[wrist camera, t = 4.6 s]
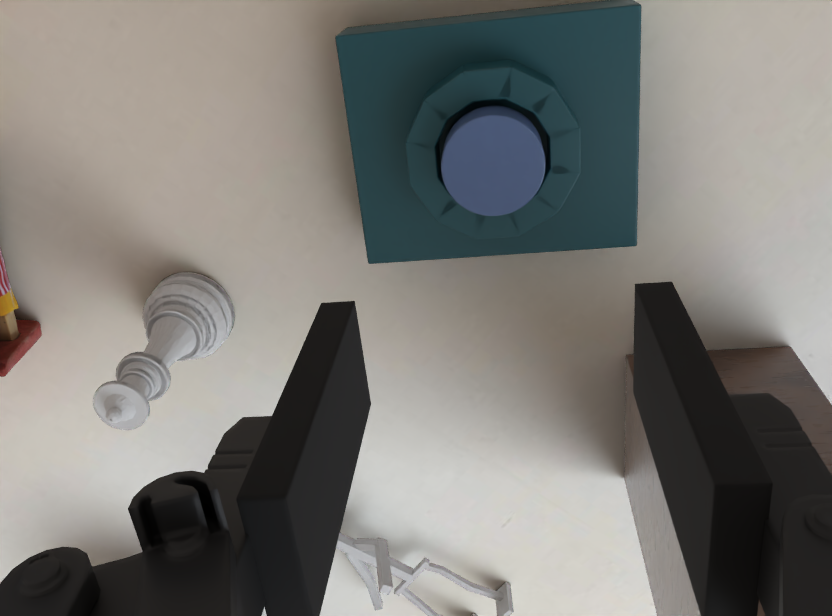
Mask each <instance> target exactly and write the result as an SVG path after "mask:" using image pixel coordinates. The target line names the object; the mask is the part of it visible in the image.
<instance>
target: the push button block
mask: <svg viewBox="0 0 832 616" xmlns="http://www.w3.org/2000/svg"><path fill="white" fill-rule="evenodd" d="M335 39H336V46H337V53H338V60H339V66H340V73H341V80H342V87H343V94H344V101H345V107H346V114H347V121H348V128H349V135H350V142H351V149H352V155H353V162H354V169H355V176H356V183H357V190H358V196H359V203H360V210H361V217H362V224H363V231H364V237H365V244H366V251H367V258H368V263H369V264H374V263H389V262H404V261H419V260H434V259H449V258H464V257H479V256H494V255H509V254H524V253H539V252H554V251H569V250H584V249H599V248H614V247H629V246H636V245H637V212H638V159H639V106H640V53H641V4H639V3H637V2H635V1H634V0H605V1H595V2H586V3H576V4H567V5H557V6H548V7H538V8H529V9H519V10H510V11H500V12H491V13H481V14H472V15H462V16H453V17H443V18H433V19H424V20H414V21H405V22H395V23H386V24H376V25H367V26H357V27H348V28H346V29H345V30H343V31H342V32H341V33H339V34H338V35H337V36H336V37H335ZM489 105H498V106H505V107H509V108H512V109H514V110H516V111H518V112H520V113H522V114H523V115H524V116H526V117H527V118H528V119H529V120H530V121H531V122H532V123H533V125H534V126H535V128H536V129H537V131H538V133H539V135H540V138H541V142H542V146H543V150H544V154H545V162H546V164H545V174H544V178H543V181H542V184H541V186H540V188H539V190H538V191H537V193H536V194H535V196H534V197H533V198H532V199H531V200H530V201H529V202H528V203H527V204H526V205H524V206H523V207H521V208H520V209H518V210H516V211H514V212H511V213H508V214H505V215H499V216H486V215H480V214H476V213H474V212H471V211H469V210H467V209H465V208H464V207H462V206H461V205H459V204H458V203H457V202H456V201H455V200H454V199H453V198H452V196H451V195H450V194H449V192H448V190H447V189H446V186H445V184H444V181H443V178H442V172H441V160H442V154H443V149H444V144H445V140H446V138H447V135H448V133H449V131H450V130H451V128H452V127H453V125H454V124H455V123H456V122H457V121H458V120H459V119H460V118H461V117H462V116H463V115H465V114H466V113H468V112H470V111H472V110H474V109H476V108H479V107H483V106H489Z"/></svg>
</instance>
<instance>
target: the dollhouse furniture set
mask: <svg viewBox="0 0 832 616" xmlns="http://www.w3.org/2000/svg"><path fill="white" fill-rule="evenodd" d="M14 309H18V304H17V301H16V299H15V297H14V295H13V292H12V289H11V286H10V283H9V280H8V276H7V272H6V268H5V263H4V259H3V256H2V253H1V248H0V376H1V377H4V376H6V374H7V373H8V372H9V371H10V370H11V369H12V368H13V366H14V365H15V364H16V363H17V362H18V361H19V360H20V359H21V358H22V357H23V356H24V355H25V353H26V352H27V351H28V350H29V349H30V348H31V347H32V346H33V345H34V344H35V343H36V342H37V340H38V339H39V338H40V337H41V335H42V333H41V326H40V323H39V322H37V321H34V320H16V318H15V314H14V311H13V310H14Z"/></svg>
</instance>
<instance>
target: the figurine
mask: <svg viewBox="0 0 832 616" xmlns="http://www.w3.org/2000/svg"><path fill="white" fill-rule="evenodd" d="M336 548H337V549H339V550H341V551H343V552H345V553H346V556H347V558H348V559H349V561H350V562H351V563H352V565H353V566H354V568H355V569H356V570H357V572H358V573H359V575H360V576H361V577H362V579H363V580H364V582H365V583H366V585H367V588H368V591H369V594H370V597H371V600H372V603H373V606H374V609H375V610H379V609H382V608H383V602H382V599H381V596H380V593H383V594H387V595H389V594H390V592H391V590H392V588H393V585H392V577H391V574H392V575H394V576H396V577H398V578H401V579H403V581H402V582H401V583H400V584H399V585H398V586H397V587H396V588H395V589H394V594H396V595H398V596H399V595H400V594H402V595H403V596H405V597H406V598H407V599H408V600H410V601H411V602H412V603H413V604H414V605H416V606H417V607H418V608H419V609H420V610H421V611H423V612H424V613H425V614H426V615H427V616H442V615H439V614H437V613H436V612H435V611H434V610H433V609H431V608H430V607H429V606H428V605H427V604H425V603H424V602H423V601H422V600H421V599H420V598H418V597H417V596H416V595H415V594H414V593H412V592H411V591H410V590H409V589H407V587H408V586H409V585H410V584H411V583H412V582H413V581H414V580H415V579H416V577H417V576H418V575H419V574H420V573H421V572H422V571H423V570H424V569H426V570H429V571H433V572H436V573H440V574H441V575H443V576H445V577H446V578H448V579H450V580H451V581H453V582H455V583H456V584H458V585H460V586H462V587H463V588H465V589H467V590H468V591H471V592H474V593H477V594H480V595H483V596H486V597H489V598H492V599H495V600H496V608H497V616H510V615H511V614H512V613H513V612H514V611H513V603H512V594H511V585H510V584H509V583H507V582H505V583H504V584H503V585H502V586H501V587H500V588H499V589H498V590H497V591H495V590H492V589H489V588H486V587H483V586H480V585H477V584H474V583H471V582H470V581H468V580H466V579H464V578H462V577H461V576H459V575H457V574H455V573H454V572H452V571H450V570H448V569H447V568H445V567H443V566H440V565H436V564H433V563H429V559H427V558H424V559H423V560H422V561H421V562H420V563H419V564H418V565H417V566H416V567H415V568H414V569H413V568H411V567H409V566H407V565H405V564H403V563H401V562H399V561H397V560H395V559H393V558H391V557H389V552H388V544H387V540H385V539H381V538H378V539H367V538H357V539H356V540H355V539H353V538H350V537H348V536H346V535H344V534H342V533H339V537H338V541H337V545H336ZM365 563H367V564H370V565H372V566H374V567H376V568H377V573H378V583H379V590H378V587H377V584H376V581H375V578H374V576H373V574H372V573H371V571H370V570H369V568H368V567H367V565H366V564H365ZM471 616H478V615H476V614H474V613H473V614H472V615H471Z"/></svg>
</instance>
